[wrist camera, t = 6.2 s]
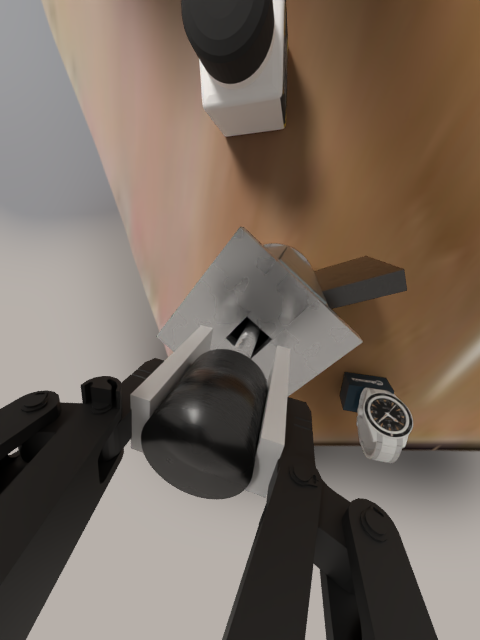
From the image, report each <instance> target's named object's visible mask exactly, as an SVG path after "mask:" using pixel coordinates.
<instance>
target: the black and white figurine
mask: <svg viewBox="0 0 480 640" xmlns="http://www.w3.org/2000/svg"><path fill="white" fill-rule="evenodd" d="M181 8H182V19H183V24H184V28H185V32H186V34H187V37H188V39H189V41H190V43H191V45H192V47H193V49H194V50H195V52H196V54H197V56H198V57H199V63H200V76H201V90H202V104H203V108H204V110H205V111H206V112H207V114H208V115H209V116H210V118H211V119H212V120H213V122H214V123H215V124H216V125H217V127H218V128H219V129H220V131H221V132H222V133H223V135H224V136H226V137H228V136H236V135H243V134H250V133H258V132H265V131H273V130H280V129H284V128H285V126H286V103H287V68H288V32H287V12H286V0H182V1H181Z"/></svg>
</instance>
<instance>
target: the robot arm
mask: <svg viewBox="0 0 480 640" xmlns="http://www.w3.org/2000/svg"><path fill="white" fill-rule="evenodd" d="M212 333H213V328H211V327H207V326H203V325H201V326H200V327H199V328H198V329H197V330H196V331H195V332H194V333H193V334H192V335H191V336H190V337H189V338H188V339H187V340H186V341H185V342H184V343H183V344H182V345H181V346H179V347H178V348H177V349H176V350H175V351H174V352H173V353H172V354H171V355H170V356H169V357H168V358H167V359H166V360H165V361H163V360H160V359H156V358H154V359H152V360H150V361H147V362H145V363H144V364H143V365H142V366H140V367H139V368H138V370H136V371H135V372H134V373H133V374H132V375H130V376H129V377H128V378H127V379H125V380H124V381H123V382H122V383H121V382H120V381H119V380H118V379H117V378H113V377H110V376H102V377H96V378H93V379H90V380H88V381H86V382H84V383H83V384H82V385H81V392H82V400H83V403H60V401H59V395H58V394H56V393H55V392H52V391H37V392H33V393H30V394H27V395H25V396H23V397H21V398H19V399H17V400H15V401H14V402H12V403H10V404H8V405H6V406H5V407H3V408H1V409H0V640H26V638H27V636H28V634H29V632H30V631H31V629H32V627H33V625H34V623H35V621H36V619H37V617H38V616H39V614H40V611H41V610H42V608H43V606H44V604H45V602H46V600H47V599H48V597H49V595H50V593H51V591H52V589H53V587H54V585H55V583H56V582H57V580H58V578H59V576H60V574H61V572H62V570H63V568H64V567H65V565H66V563H67V561H68V559H69V557H70V555H71V553H72V552H73V550H74V548H75V546H76V544H77V542H78V540H79V538H80V537H81V535H82V532H83V531H84V529H85V527H86V525H87V523H88V521H89V520H90V518H91V516H92V514H93V512H94V510H95V508H96V506H97V504H98V503H99V501H100V499H101V497H102V495H103V493H104V491H105V489H106V487H107V486H108V484H109V482H110V480H111V478H112V476H113V474H114V473H115V471H116V469H117V467H118V465H119V463H120V461H121V459H122V457H123V453H124V446H125V445H126V444H127V443H128V441H129V440H130V439H131V448H132V449H135V450H137V451H140V452H143V450H142V445H141V432H142V429H143V427H144V425H145V423H146V422H147V421H148V419H149V418H150V417H151V416H152V414H153V413H154V412H155V411H156V409H157V408H158V407H159V405H160V404H161V403H162V402H163V400H164V399H165V398H166V397H167V395H168V394H169V393H170V392H171V390H172V389H173V388H174V387H175V385H176V384H177V383H178V381H179V380H180V379H181V378H182V376H183V375H184V374H185V373H186V371H187V370H188V369H189V368H190V366H191V365H192V364H193V363H194V361H195V360H196V359H197V358H198V357H199V356H200V355H202V354H203V353H205V352H207V351H210V347H211V340H212ZM289 363H290V349H289V348H285V347H281V346H278V345H277V349H276V352H275V356H274V359H273V363H272V367H271V370H270V374H269V377H268V381H267V385H268V392H267V397H266V402H265V408H264V413H263V418H262V424H261V429H260V434H259V440H258V445H257V450H256V456H255V465H254V470H253V475H252V479H251V482H250V484H249V485H248V486H247V488H246V489H245V490H246V491H249V492H252V493H254V494H257V495H260V496H263V497H266V495H267V503H266V506H265V508H264V511H263V514H262V516H261V519H260V522H259V527H258V530H257V533H256V536H255V539H254V542H253V545H252V548H251V551H250V555H249V558H248V561H247V564H246V567H245V570H244V573H243V577H242V580H241V583H240V586H239V589H238V592H237V595H236V598H235V601H234V605H233V608H232V611H231V614H230V617H229V620H228V623H227V626H226V629H225V632H224V636H223V639H222V640H305V633H306V624H307V615H308V607H309V598H310V589H311V580H312V571H313V563H314V564H315V565H316V566H317V567H318V568H319V569H320V576H321V587H322V597H323V608H324V618H325V629H326V639H327V640H438V638H437V635H436V633H435V630H434V627H433V625H432V622H431V619H430V616H429V614H428V611H427V609H426V606H425V603H424V600H423V597H422V595H421V592H420V589H419V587H418V584H417V581H416V578H415V576H414V573H413V570H412V567H411V565H410V562H409V559H408V556H407V554H406V551H405V548H404V546H403V543H402V540H401V537H400V535H399V532H398V530H397V528H396V526H395V525H394V523H393V521H392V520H391V518H390V517H389V516H388V515H387V513H386V512H385V511H384V510H383V509H381V508H380V507H379V506H378V505H376V504H375V503H373V502H371V501H369V500H367V499H359V498H358V499H355V500H353V501H352V502H349V501H348V500H346V499H345V498H343V497H342V496H340V495H339V494H337V493H336V492H335V491H333V490H332V489H331V488H329V487H328V486H327V485H326V484H325V482H324V481H323V480H322V479H321V476H320V474H319V472H318V470H317V469H316V466H315V458H314V444H313V431H312V417H311V411H310V409H309V407H308V405H307V404H306V402H303V401H299V400H296V399H293V398H289V397H287V395H288V379H289ZM17 447H18V449H19V450H18V451H17V452H15V453H13V454H12V455H8V454H9V453H10V452H11V451H13V450H14V449H15V448H17ZM143 453H144V452H143ZM267 492H268V494H267Z"/></svg>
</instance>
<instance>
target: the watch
mask: <svg viewBox="0 0 480 640" xmlns="http://www.w3.org/2000/svg"><path fill="white" fill-rule="evenodd" d="M340 399H341V403H342V407H343V410H347V411H353V412H357V413H358V416H357V423H356V424H357V427H358V435H359V442H360V445H362V448H363V452H364V454H365V456H366V457H367V458H368V459H372V460H377V461H382V462H387V463H393V462H395V461H396V460H397V459H398V457H399V455H400V452H401V450H402V447H403V448H404V447H405V446H406V443H407V439H408V435H409V433H410V432H411V431H412V428H413V418H412V415H411V412H410V411H409V409H408V408H407V406H406V405H405V404H404V403H403V402H402V401H401V400H399V399H398V398H397V397H396V396H395V395H394V390H393V389H392V387H391V385H390V384H389V382H388V380H387V379H386V378H383V377H376V376H369V375H362V374H355V373H348V372H345V374H344V378H343V383H342V387H341V392H340Z"/></svg>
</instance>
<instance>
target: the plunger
mask: <svg viewBox="0 0 480 640" xmlns="http://www.w3.org/2000/svg"><path fill="white" fill-rule="evenodd" d="M246 317H247V316H246ZM247 318H248V317H247ZM260 331H261V329H260V328H259V327H258V326H257V325H256V324H255V323H254V322H253V321H252V320H250V319H249V321H248V323H247V325H246V326H245V328H244V330H243V332H242V334H241V336H240V337H239V339H238V341H237V343H236V345H235V347H234V348H233V350H229V349H215V350H210V351H207V352H205V353H203V354H202V355H200V356H199V357H198V358H197V359H196V360H195V361H194V363H193V364H192V365H191V366H190V368H189V369H188V370H187V371H186V373H185V374H184V375H183V376H182V378H181V379H180V380H179V381H178V383H177V384H176V385H175V387H174V388H173V389H172V390H171V392H170V393H169V394H168V395H167V397H166V398H165V399H164V400H163V402H162V403H161V404H160V405H159V407H158V408H157V409H156V411H155V412H154V413H153V414H152V416H151V417H150V418H149V419H148V421H147V422H146V423H145V425H144V427H143V429H142V432H141V445H142V450H143V452H144V455H145V457H146V459H147V461H148V462H149V464H150V465H151V466H152V468H153V469H154V470H155V471H156V472H157V473H158V474H159V475H160V476H161V477H162V478H163V479H164V480H165V481H167V482H168V483H169V484H171V485H172V486H174V487H176V488H177V489H179V490H181V491H183V492H186V493H188V494H191V495H194V496H197V497H201V498H206V499H225V498H230V497H233V496H236V495H238V494H240V493H241V492H242V491H244V489H246V488H247V486H248V485H249V484H250V482H251V479H252V475H253V470H254V465H255V456H256V450H257V445H258V440H259V434H260V429H261V424H262V418H263V413H264V408H265V402H266V397H267V392H268V385H267V381H266V378H265V375H264V373H263V372H262V370H261V369H260V368H259V366H258V365H257V364H256V363H255V362H254V361H253V360H251V359H250V358H251V355H252V352H253V350H254V347H255V344H256V342H257V339H258V336H259V334H260Z"/></svg>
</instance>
